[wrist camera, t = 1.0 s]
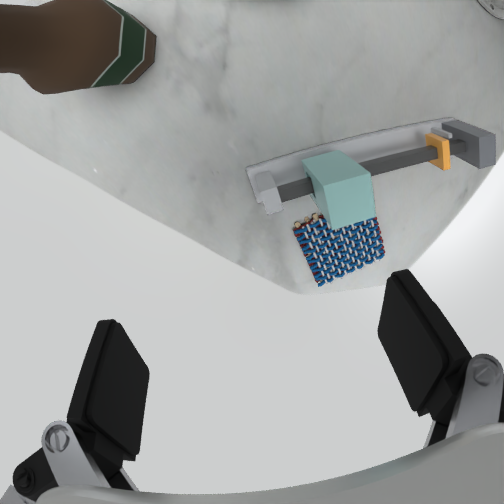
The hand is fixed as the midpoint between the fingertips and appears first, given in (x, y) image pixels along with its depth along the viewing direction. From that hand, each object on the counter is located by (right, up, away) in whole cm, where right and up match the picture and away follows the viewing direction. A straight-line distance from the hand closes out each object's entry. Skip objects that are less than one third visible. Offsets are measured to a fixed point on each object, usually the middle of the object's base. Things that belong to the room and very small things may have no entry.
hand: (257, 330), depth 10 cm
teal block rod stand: (+13, +14, +21) cm, 28 cm away
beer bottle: (-13, +23, +13) cm, 29 cm away
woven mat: (+11, +5, +28) cm, 30 cm away
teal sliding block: (+7, +11, +19) cm, 23 cm away
